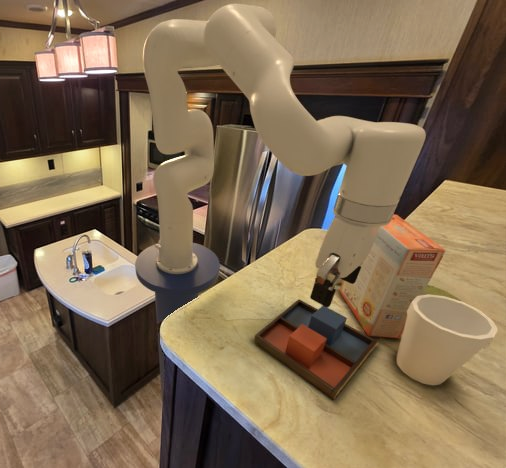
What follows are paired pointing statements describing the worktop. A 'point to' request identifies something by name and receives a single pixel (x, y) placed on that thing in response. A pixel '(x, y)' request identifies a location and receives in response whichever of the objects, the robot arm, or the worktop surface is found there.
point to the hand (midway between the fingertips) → (332, 290)
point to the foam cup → (441, 337)
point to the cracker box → (392, 278)
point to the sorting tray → (333, 356)
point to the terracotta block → (305, 345)
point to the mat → (438, 292)
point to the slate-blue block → (327, 323)
